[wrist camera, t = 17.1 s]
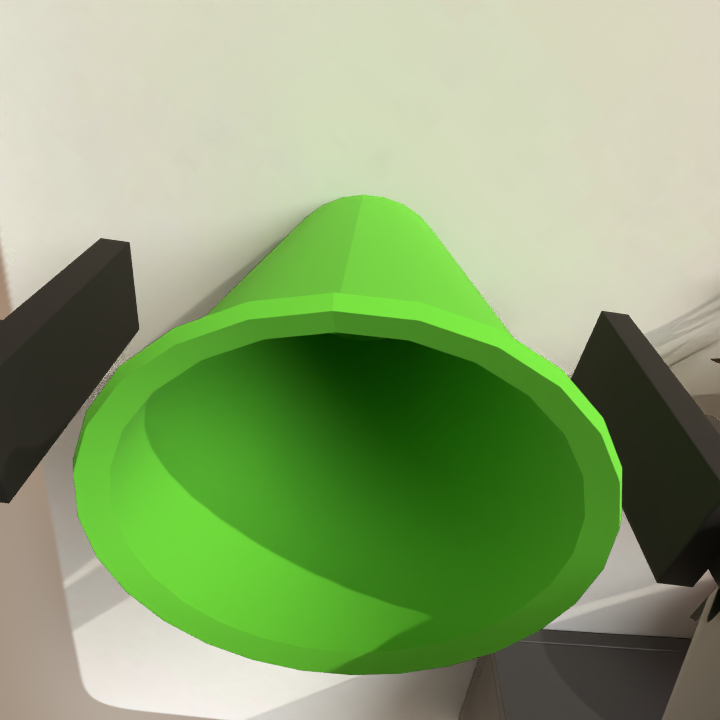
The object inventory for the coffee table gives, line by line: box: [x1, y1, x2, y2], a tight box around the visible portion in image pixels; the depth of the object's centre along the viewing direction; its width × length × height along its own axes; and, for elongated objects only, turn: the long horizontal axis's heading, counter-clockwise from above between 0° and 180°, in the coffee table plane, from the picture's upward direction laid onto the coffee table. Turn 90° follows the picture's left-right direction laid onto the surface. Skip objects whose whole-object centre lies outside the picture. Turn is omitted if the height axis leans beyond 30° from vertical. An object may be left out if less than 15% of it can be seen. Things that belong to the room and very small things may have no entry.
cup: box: [73, 195, 622, 675], centre depth 13 cm, size 9×9×11 cm
